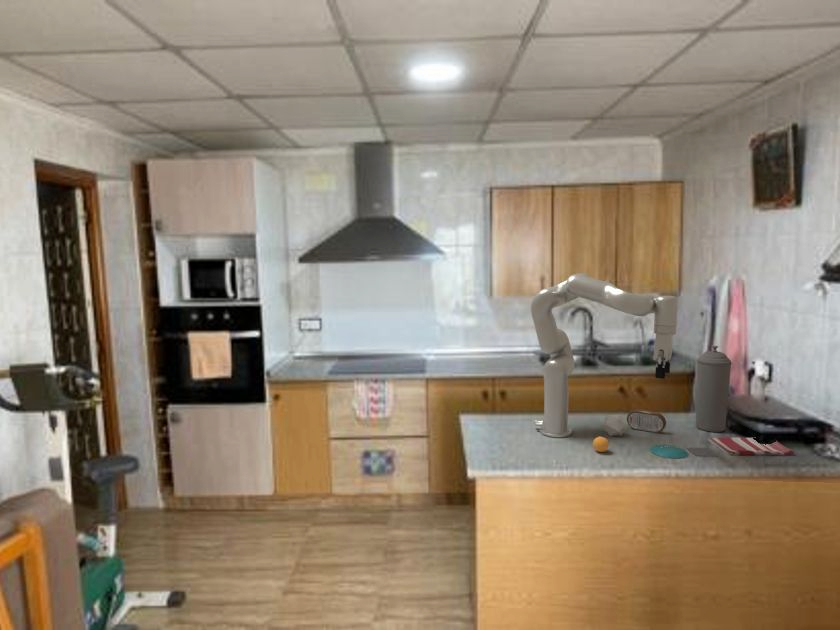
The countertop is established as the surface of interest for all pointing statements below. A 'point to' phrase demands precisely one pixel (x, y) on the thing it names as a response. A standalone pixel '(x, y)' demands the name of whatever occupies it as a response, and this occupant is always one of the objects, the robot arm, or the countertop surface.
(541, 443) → the countertop surface
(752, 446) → the dish towel
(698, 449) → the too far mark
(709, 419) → the canister
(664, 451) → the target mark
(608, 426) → the die
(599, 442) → the ball
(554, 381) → the robot arm
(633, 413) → the tin
